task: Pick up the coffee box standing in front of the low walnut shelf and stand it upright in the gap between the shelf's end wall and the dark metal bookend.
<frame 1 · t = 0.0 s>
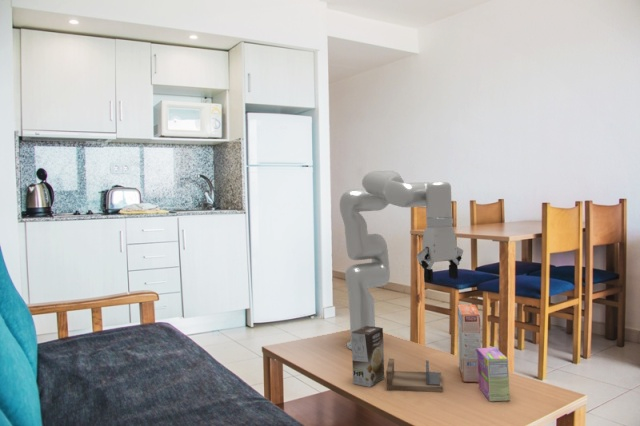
hand: (441, 280, 152), 31 cm above the table, tool pointing down, fingers open, 9 cm apart
cracker box: (470, 375, 158), on the table
box: (493, 395, 143), on the table
coffee box: (369, 381, 157), on the table
shelf: (414, 383, 153), on the table
bookend: (432, 372, 152), point 4 cm above the table
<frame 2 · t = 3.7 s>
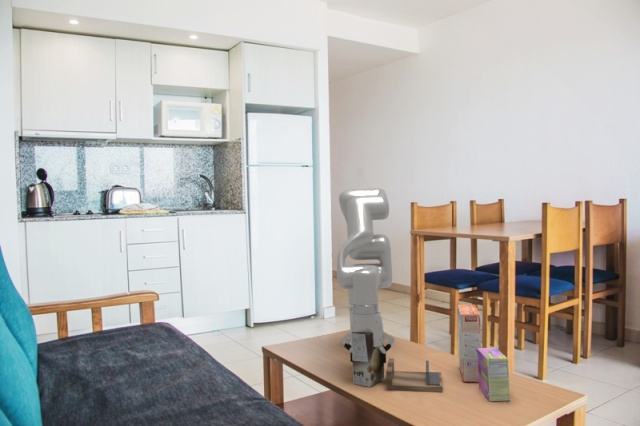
hand: (368, 364, 157), 5 cm above the table, tool pointing down, fingers closed on coffee box, 8 cm apart
coffee box: (369, 381, 157), on the table, touching gripper
everything else where it was.
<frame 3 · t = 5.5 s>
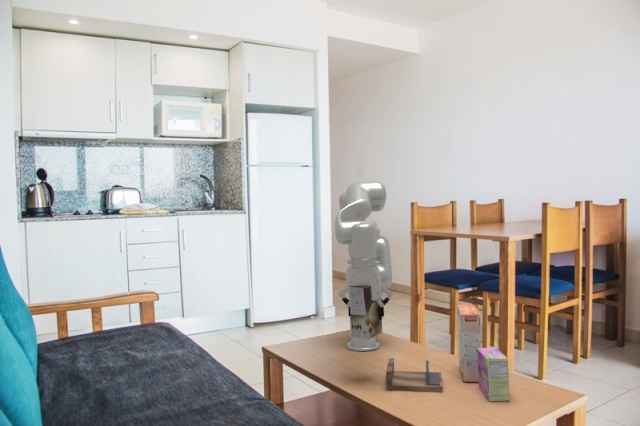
hand: (366, 318, 157), 19 cm above the table, tool pointing down, fingers closed on coffee box, 8 cm apart
coffee box: (367, 335, 157), point 14 cm above the table, touching gripper
everything else where it was.
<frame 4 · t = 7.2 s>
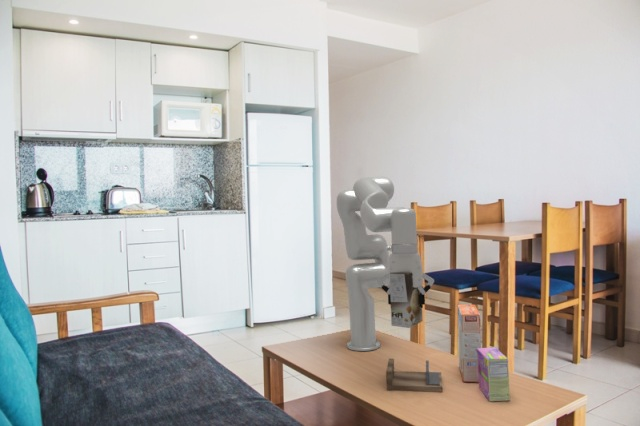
hand: (406, 306, 153), 23 cm above the table, tool pointing down, fingers closed on coffee box, 8 cm apart
coffee box: (407, 324, 153), point 18 cm above the table, touching gripper
everything else where it was.
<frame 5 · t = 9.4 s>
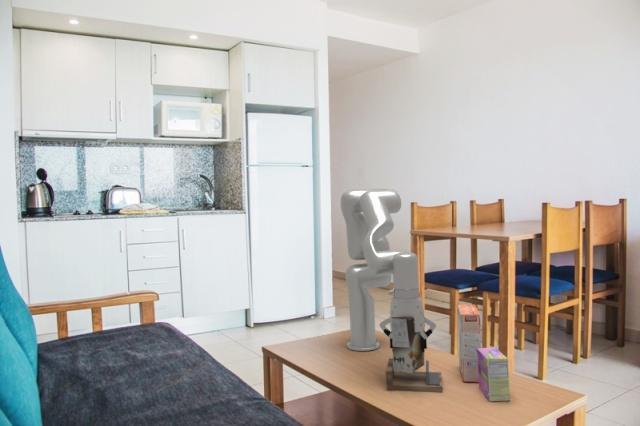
hand: (408, 350, 153), 10 cm above the table, tool pointing down, fingers closed on coffee box, 8 cm apart
coffee box: (409, 368, 153), point 5 cm above the table, touching gripper
everything else where it was.
when the fingers open (8 cm above the table, at t = 11.0 s): coffee box drops 1 cm, resting on shelf.
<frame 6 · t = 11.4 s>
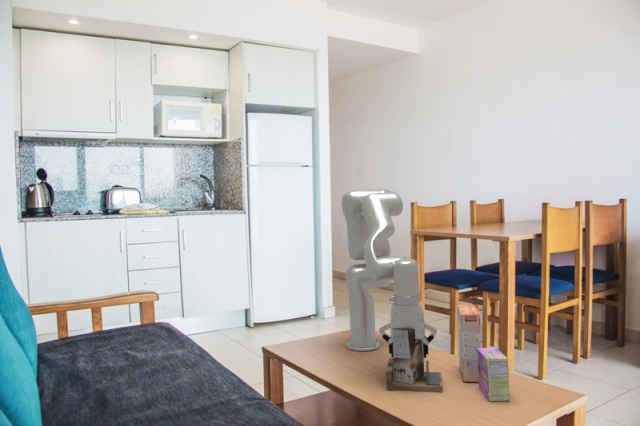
hand: (408, 356, 153), 8 cm above the table, tool pointing down, fingers open, 9 cm apart
coffee box: (409, 378, 154), point 1 cm above the table, touching shelf
everything else where it was.
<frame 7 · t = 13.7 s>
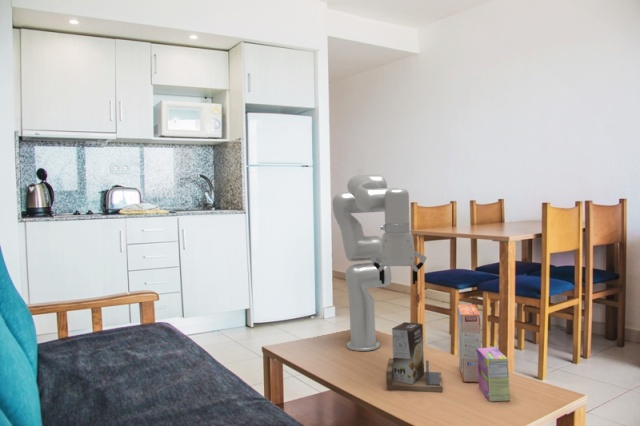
hand: (398, 283, 158), 30 cm above the table, tool pointing down, fingers open, 9 cm apart
nothing on the table moved.
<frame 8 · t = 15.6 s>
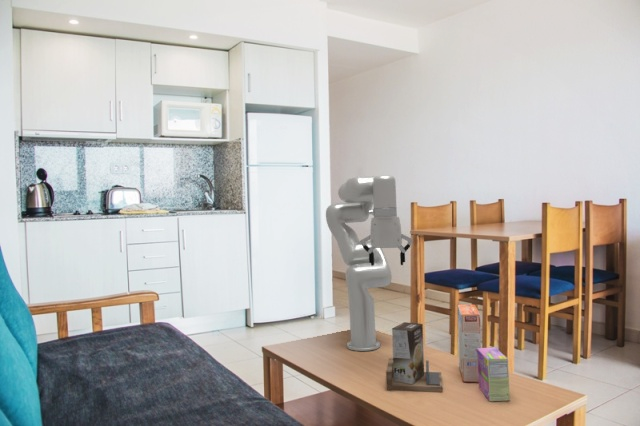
hand: (387, 264, 167), 34 cm above the table, tool pointing down, fingers open, 9 cm apart
nothing on the table moved.
at the end: coffee box inside the target area on the shelf (0.2 cm from its centre), point 1.3 cm above the shelf's base; coffee box tilted 0°; the gripper is holding nothing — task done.
